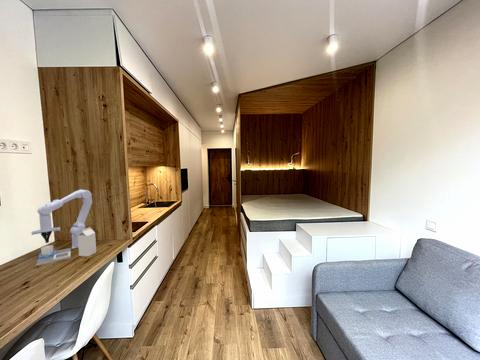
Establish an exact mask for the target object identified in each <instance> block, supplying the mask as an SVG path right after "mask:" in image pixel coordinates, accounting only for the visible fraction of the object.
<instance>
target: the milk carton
mask: <svg viewBox="0 0 480 360" xmlns="http://www.w3.org/2000/svg"><path fill="white" fill-rule="evenodd" d="M96 242H97V240H96V232H95V231H94V230H93V229H92V227H91V226H89V227H87V228H86V227H85V229H84V230H82V232H81V233H80V234H79V235H78V257H90V256H92V255H94V254H96V252H97V243H96Z"/></svg>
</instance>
